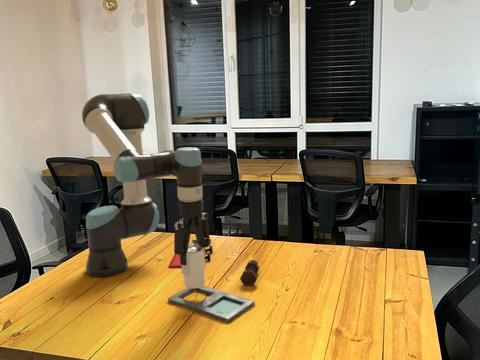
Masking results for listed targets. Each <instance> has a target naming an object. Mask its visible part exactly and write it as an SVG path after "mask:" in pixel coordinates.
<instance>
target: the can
mask: <svg viewBox="0 0 480 360" xmlns="http://www.w3.org/2000/svg"><path fill="white" fill-rule="evenodd" d="M187 254H189V261H190V275H185V274H183V283H184V286H185V287H186V288H189V289H197V288H201V287H202V286H205V283H206V282H205V281H206V279H205V278H206V277H205V267H204V253H203V251H202V248H201V247H200V246H189V247H188V251H187Z"/></svg>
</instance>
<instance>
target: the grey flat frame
mask: <svg viewBox="0 0 480 360" xmlns="http://www.w3.org/2000/svg"><path fill="white" fill-rule="evenodd" d="M195 291H196V292H200V293H202V294H206V295H209V296H208V297H206V298H204V299H203V300H200V301H199V302H193V301H191V300H187V299H184V298H185V296H188V295H189V294H191V293H193V292H195ZM223 299H225V300H228V301H231V302H235V303H238V304H241V306H239V307H238V308H236V309H235V310H233V311H232V312H230V313H229V314H227V313H224V312H221V311H218V310H215V309H212V308H210V307H212V306H214V305H215V304H217V303H218V302H220V301H222V300H223ZM167 301H168V303H170V304H173V305H177V306H179V307H182V308H185V309H187V310H190V311H193V312H196V313H199V314H202V315H205V316H208V317H210V318H213V319H216V320H219V321H223V322H225V323H227V324H229V323H230V322H231V321H233V320H235V319H237V317H239V316H240V315H242V314H243V313H245V312H246V311H248V310H249V309H251V308H252V307H253V306H255V305H256V304H255V300H252V299H249V298H246V297H243V296H239V295H237V294H232V293H229V292H226V291H222V290H219V289H217V288H212V287H209V286H205V285H203V286H202V287H201V288H197V289H189V288H187V287H186V288H184V289H182V290H180V291H178V292H177V293H174V294H173V295H171V296H169V297H167Z"/></svg>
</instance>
